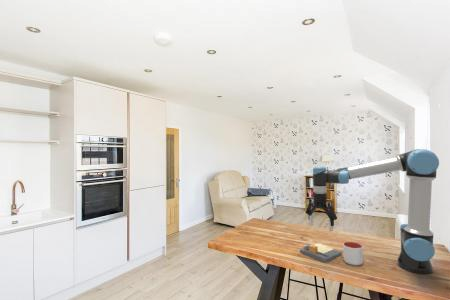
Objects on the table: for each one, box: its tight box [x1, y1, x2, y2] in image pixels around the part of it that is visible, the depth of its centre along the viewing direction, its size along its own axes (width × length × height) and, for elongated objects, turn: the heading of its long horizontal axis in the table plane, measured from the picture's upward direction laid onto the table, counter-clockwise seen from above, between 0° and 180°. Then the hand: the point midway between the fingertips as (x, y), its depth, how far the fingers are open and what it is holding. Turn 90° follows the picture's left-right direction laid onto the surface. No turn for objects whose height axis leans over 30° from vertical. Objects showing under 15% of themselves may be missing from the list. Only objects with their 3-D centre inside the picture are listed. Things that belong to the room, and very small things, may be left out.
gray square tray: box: [299, 243, 343, 264], centre depth 153 cm, size 18×17×5 cm
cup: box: [342, 241, 364, 266], centre depth 141 cm, size 10×10×10 cm
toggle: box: [309, 244, 318, 254], centre depth 150 cm, size 4×3×4 cm
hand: (320, 228), depth 146 cm, fingers open, 12 cm apart
